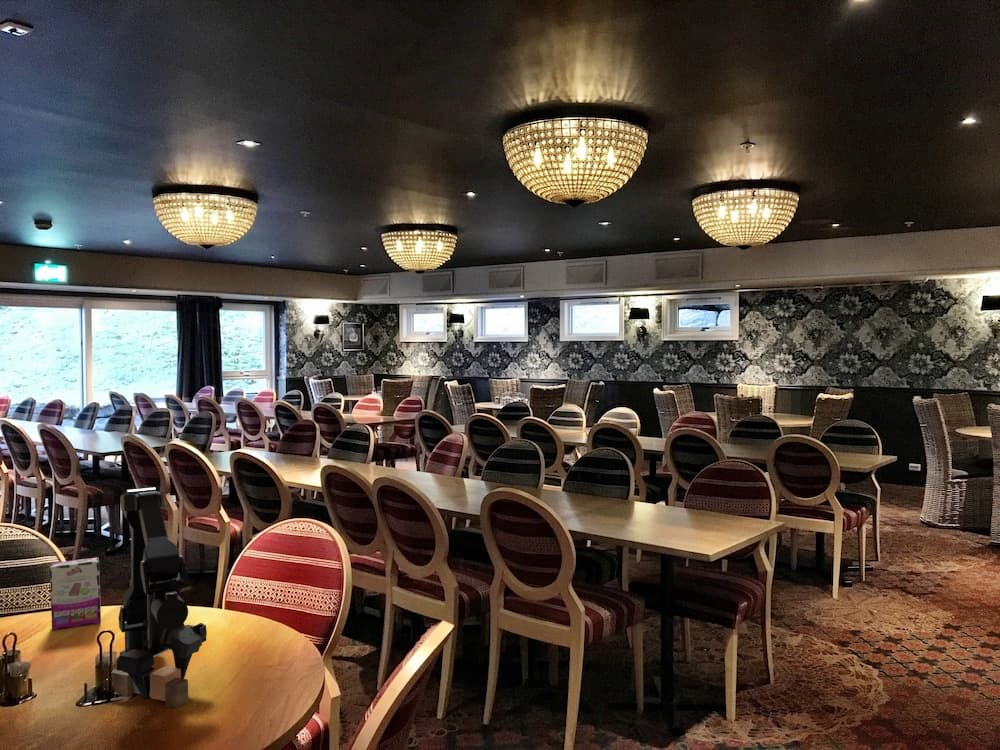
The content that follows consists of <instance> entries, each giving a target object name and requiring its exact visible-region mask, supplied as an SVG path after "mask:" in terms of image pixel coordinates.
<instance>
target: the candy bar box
mask: <svg viewBox="0 0 1000 750" xmlns="http://www.w3.org/2000/svg"><path fill="white" fill-rule="evenodd" d="M100 576H101V575H100V559H99V556H97V557H91V558H82V559H73V560H67V561H66V560H65V561H56V562H51V563H50V566H49V578H50V579H49V581H50V603H51V604H50V608H51V609H50V610H51V613H50V614H51V630H52V631H59V630H65V629H71V628H79V627H85V626H90V625H97V624H100V623H101V622H102V621H101V620H102V617H101V616H102V615H101V613H102V606H101V605H102V604H101V603H102V602H101V583H100Z"/></svg>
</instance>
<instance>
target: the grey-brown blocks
mask: <svg viewBox="0 0 1000 750" xmlns="http://www.w3.org/2000/svg"><path fill="white" fill-rule="evenodd" d="M111 674H112V675H111V676H112V682H113V686H114V690H115V692H116V693H119V694H120V695H122V696H121V697H124V696H126V697H125V698H128V697H131V696H133V692H132V678H131V677H130V676H129V675H128V673H126V672H122V671H119V670H116V669H113V671H112V672H111ZM120 695H119V696H120ZM188 702H189V679H187V678H184V679H182V678H177V677H176V678H174V679H172V680H170V681H169V682H167V683H165V701H164V703H165V706H166V707H171V708H176V709H178V708H180V707H181V706H183V705H186V704H187V703H188Z"/></svg>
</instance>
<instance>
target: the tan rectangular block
mask: <svg viewBox="0 0 1000 750" xmlns="http://www.w3.org/2000/svg"><path fill="white" fill-rule="evenodd" d="M176 677H177V678H181V669H179V668H173V666H169V665H164V666H163V667H160V668H159V669H157V670H154V671H153V672H152V673H151V674H150V679H151V696H150V698H151V699H152V700H158V701H163V702H165V683H167V682H169V681H170V680H172V679H174V678H176Z"/></svg>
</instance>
